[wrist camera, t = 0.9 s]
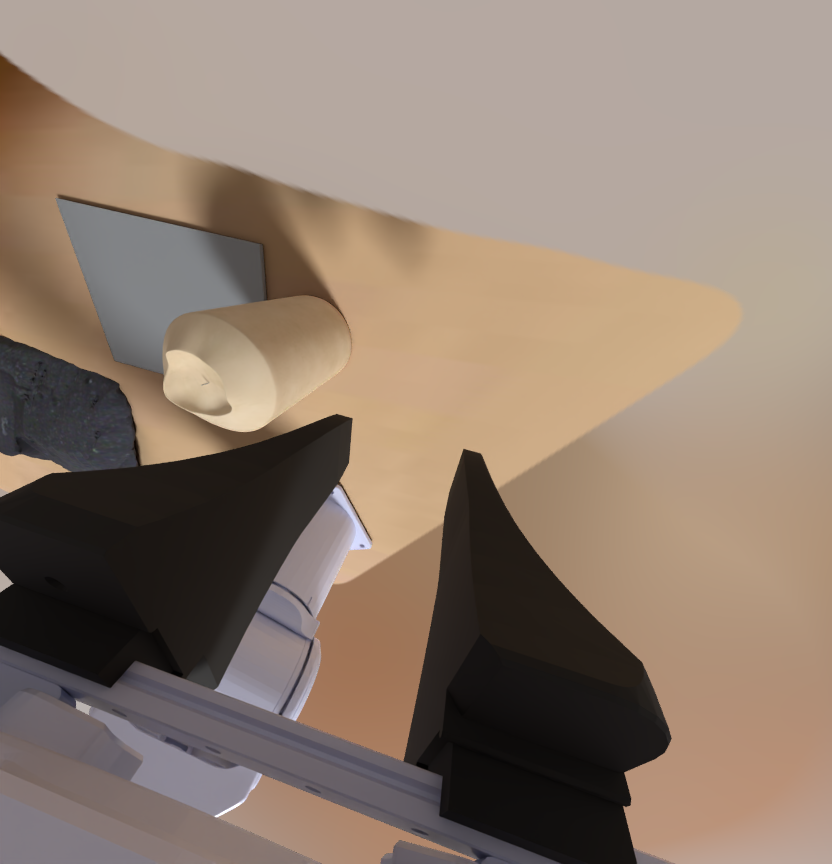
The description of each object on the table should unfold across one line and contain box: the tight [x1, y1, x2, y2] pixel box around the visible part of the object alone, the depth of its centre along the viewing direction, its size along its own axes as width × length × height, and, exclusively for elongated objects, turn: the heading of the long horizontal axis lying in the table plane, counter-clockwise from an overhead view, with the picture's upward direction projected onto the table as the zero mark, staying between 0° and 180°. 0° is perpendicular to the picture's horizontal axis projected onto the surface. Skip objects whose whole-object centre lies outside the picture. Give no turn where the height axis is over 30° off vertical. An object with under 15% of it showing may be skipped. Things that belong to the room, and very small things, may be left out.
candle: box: [162, 295, 352, 432], centre depth 16 cm, size 6×6×10 cm
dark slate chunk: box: [0, 336, 138, 472], centre depth 29 cm, size 15×22×5 cm
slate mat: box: [55, 198, 267, 374], centre depth 21 cm, size 14×11×1 cm
